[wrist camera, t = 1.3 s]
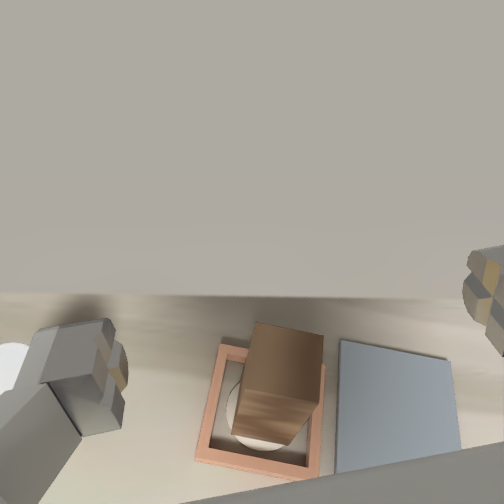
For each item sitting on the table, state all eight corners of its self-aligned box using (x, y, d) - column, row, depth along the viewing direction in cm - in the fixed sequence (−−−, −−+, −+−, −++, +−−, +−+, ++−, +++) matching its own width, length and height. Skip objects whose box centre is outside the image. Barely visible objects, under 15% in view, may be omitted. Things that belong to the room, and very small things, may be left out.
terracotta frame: (194, 460, 33) (194, 457, 32) (219, 349, 39) (219, 343, 38) (314, 484, 33) (318, 481, 32) (321, 369, 39) (325, 364, 38)
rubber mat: (333, 487, 33) (335, 486, 33) (339, 342, 40) (341, 339, 40) (465, 514, 33) (469, 513, 33) (447, 364, 40) (450, 361, 40)
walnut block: (230, 434, 34) (244, 388, 26) (240, 378, 37) (256, 322, 29) (288, 445, 34) (319, 403, 26) (293, 389, 37) (323, 335, 29)
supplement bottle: (74, 376, 36) (44, 318, 28) (93, 441, 33) (65, 396, 25) (1, 405, 34) (-54, 351, 26) (15, 476, 31) (-42, 439, 23)
